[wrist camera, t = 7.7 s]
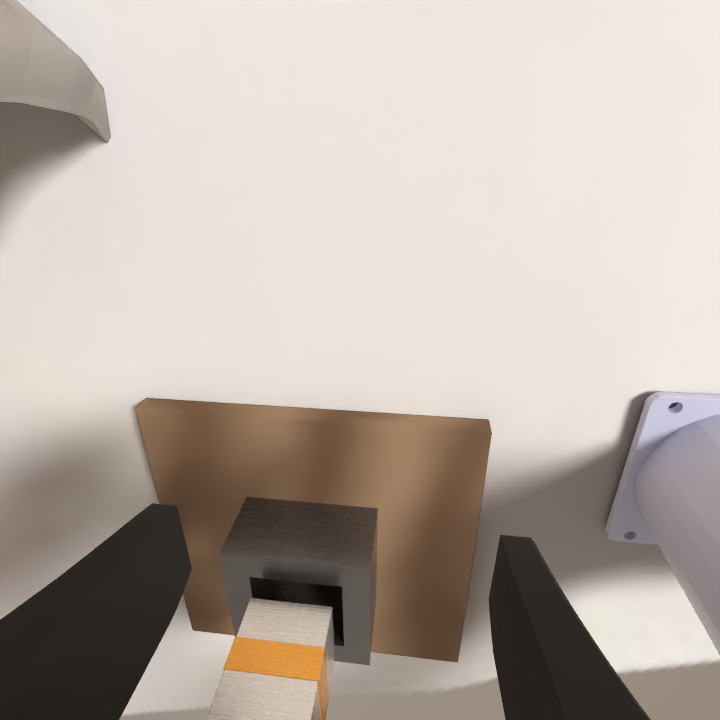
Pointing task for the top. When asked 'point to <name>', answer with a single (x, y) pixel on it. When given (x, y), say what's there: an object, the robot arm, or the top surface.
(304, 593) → the sleeve
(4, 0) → the hammer
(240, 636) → the post
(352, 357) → the top surface
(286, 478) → the base plate
